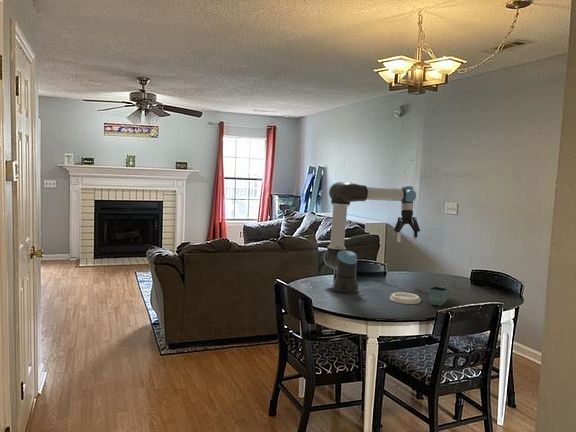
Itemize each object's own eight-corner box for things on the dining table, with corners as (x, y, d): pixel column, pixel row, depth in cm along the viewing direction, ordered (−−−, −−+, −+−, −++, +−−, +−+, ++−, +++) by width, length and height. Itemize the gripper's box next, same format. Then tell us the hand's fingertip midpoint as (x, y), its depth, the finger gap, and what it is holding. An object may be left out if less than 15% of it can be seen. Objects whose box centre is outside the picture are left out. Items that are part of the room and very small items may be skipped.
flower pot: (433, 301, 278) (434, 286, 277) (448, 304, 272) (449, 288, 272) (426, 304, 271) (427, 288, 270) (442, 307, 266) (443, 291, 265)
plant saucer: (403, 305, 267) (403, 300, 267) (383, 297, 282) (383, 293, 282) (427, 302, 275) (427, 298, 275) (406, 295, 290) (406, 291, 290)
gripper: (426, 209, 314) (425, 242, 313) (396, 210, 335) (396, 241, 334) (418, 209, 310) (417, 242, 309) (389, 210, 330) (388, 241, 330)
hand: (406, 242), depth 321 cm, fingers open, 13 cm apart
